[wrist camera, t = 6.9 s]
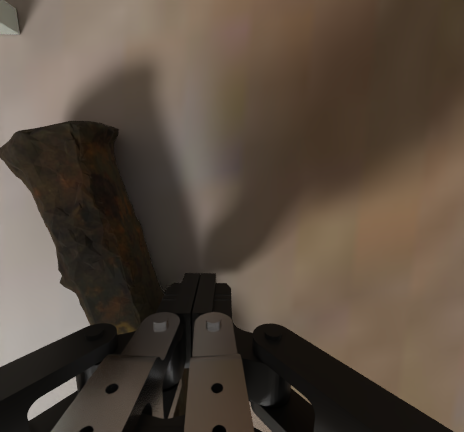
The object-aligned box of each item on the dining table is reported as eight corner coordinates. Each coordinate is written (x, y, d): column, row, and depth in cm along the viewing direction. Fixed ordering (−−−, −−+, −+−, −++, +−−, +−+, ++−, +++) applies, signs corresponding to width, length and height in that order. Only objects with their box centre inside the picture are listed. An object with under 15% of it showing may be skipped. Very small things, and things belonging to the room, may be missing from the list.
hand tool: (45, 143, 13) (-54, 135, 8) (124, 123, 13) (66, 104, 8) (157, 442, 17) (131, 547, 12) (219, 430, 17) (215, 531, 12)
